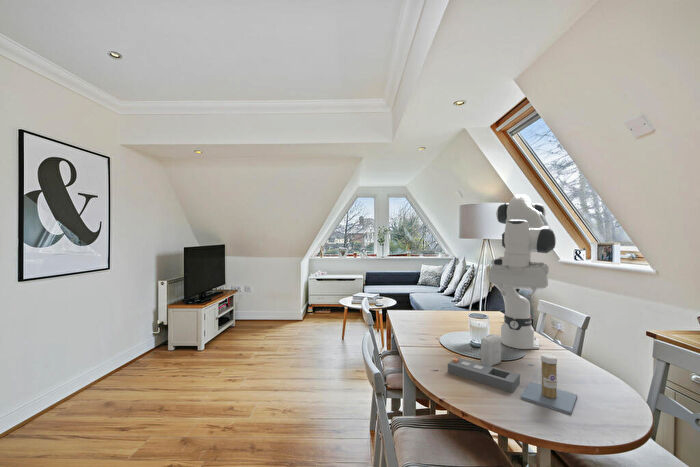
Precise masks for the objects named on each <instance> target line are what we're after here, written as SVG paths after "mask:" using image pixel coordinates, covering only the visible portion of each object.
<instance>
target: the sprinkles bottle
mask: <svg viewBox="0 0 700 467" xmlns="http://www.w3.org/2000/svg"><path fill="white" fill-rule="evenodd" d="M540 360H541V374H540V375H541V376H540V377H541V380H540V381H541V385H542V392H541V393H542V395H543V396H545V397H548V398H556V397H557V390H556V389H558V388H557V387H558V386H557V383H558V382H557V381H558V378H557V370H558V369H557V364H558V357H557V356H556V355H554V354H550V353H542V354H541V355H540Z"/></svg>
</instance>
